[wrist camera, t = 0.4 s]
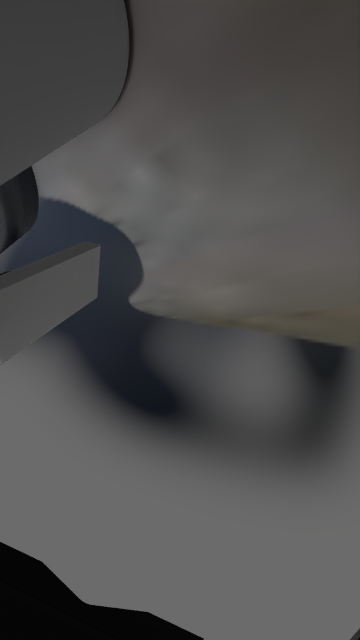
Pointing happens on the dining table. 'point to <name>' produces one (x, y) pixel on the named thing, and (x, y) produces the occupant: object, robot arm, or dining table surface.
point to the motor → (17, 207)
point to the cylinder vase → (56, 73)
